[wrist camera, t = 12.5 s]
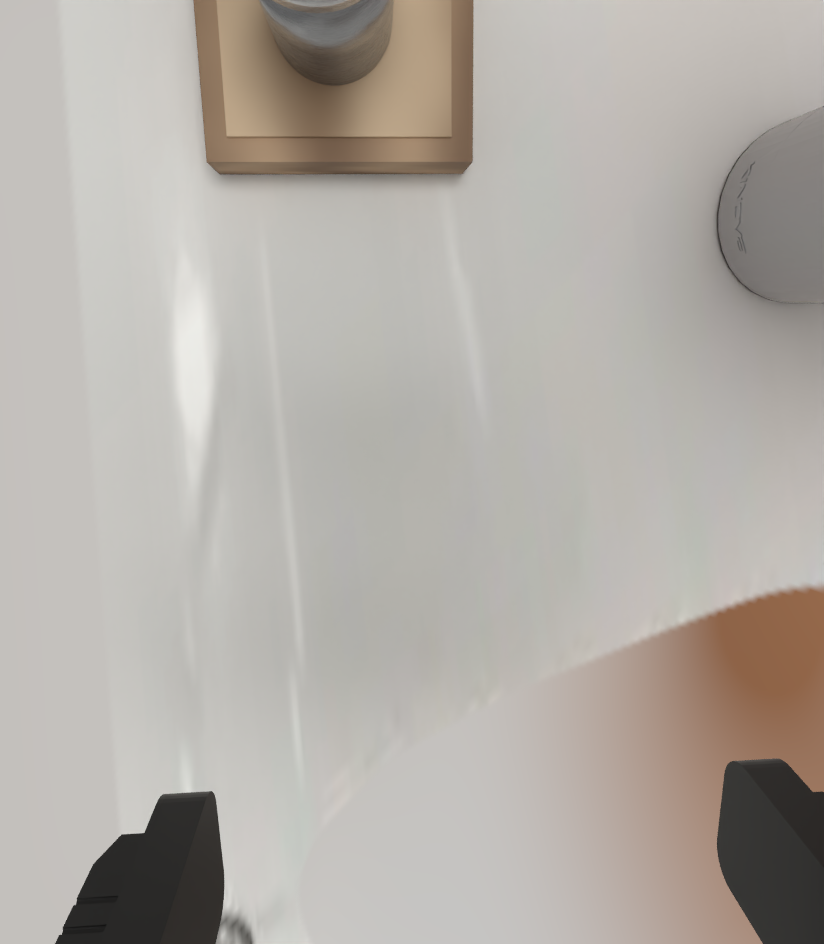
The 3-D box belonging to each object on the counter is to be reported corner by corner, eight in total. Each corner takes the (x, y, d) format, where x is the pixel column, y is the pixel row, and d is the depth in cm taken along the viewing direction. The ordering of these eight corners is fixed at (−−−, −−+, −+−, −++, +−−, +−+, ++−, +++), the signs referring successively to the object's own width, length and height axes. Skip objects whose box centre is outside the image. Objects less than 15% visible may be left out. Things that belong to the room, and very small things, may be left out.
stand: (463, -108, 31) (475, -153, 28) (462, 173, 34) (473, 160, 31) (197, -115, 30) (178, -163, 27) (219, 174, 33) (205, 161, 30)
